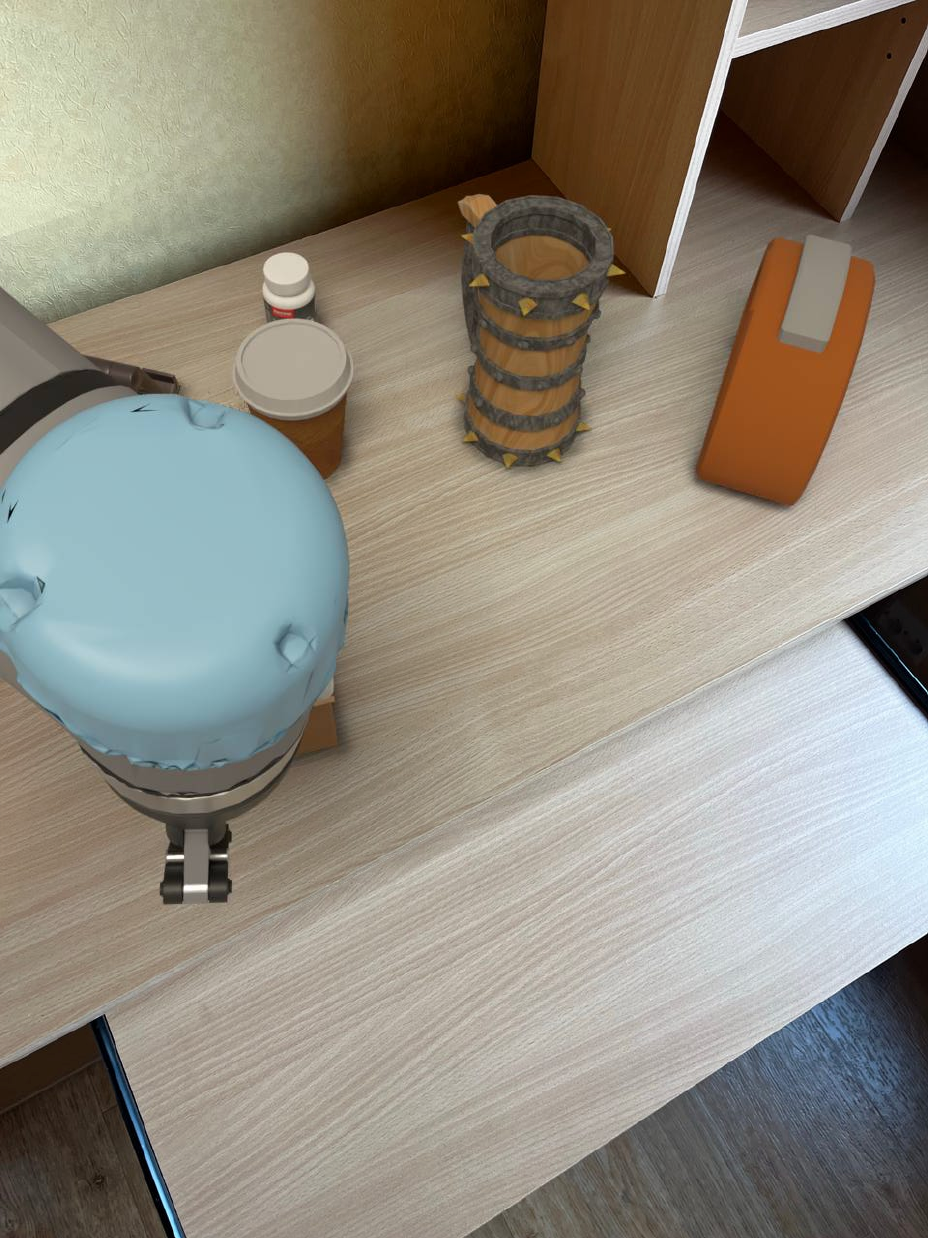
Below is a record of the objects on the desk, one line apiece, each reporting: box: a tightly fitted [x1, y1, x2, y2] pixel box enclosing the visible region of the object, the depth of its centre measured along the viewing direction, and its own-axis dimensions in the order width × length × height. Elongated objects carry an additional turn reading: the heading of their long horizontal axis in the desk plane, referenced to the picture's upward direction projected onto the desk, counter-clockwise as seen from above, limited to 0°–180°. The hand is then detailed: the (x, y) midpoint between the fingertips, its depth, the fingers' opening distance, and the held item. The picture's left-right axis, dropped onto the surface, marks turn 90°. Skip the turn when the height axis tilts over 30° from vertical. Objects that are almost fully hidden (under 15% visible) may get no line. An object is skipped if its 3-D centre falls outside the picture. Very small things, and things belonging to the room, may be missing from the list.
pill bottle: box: [261, 251, 319, 324], centre depth 96 cm, size 5×5×8 cm
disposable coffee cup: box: [231, 319, 355, 480], centre depth 88 cm, size 10×10×12 cm
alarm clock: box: [695, 234, 876, 506], centre depth 90 cm, size 23×9×17 cm, turn 161°
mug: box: [454, 193, 626, 469], centre depth 88 cm, size 13×17×20 cm
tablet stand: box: [81, 353, 179, 395], centre depth 91 cm, size 9×8×8 cm
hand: (206, 792), depth 58 cm, fingers closed
